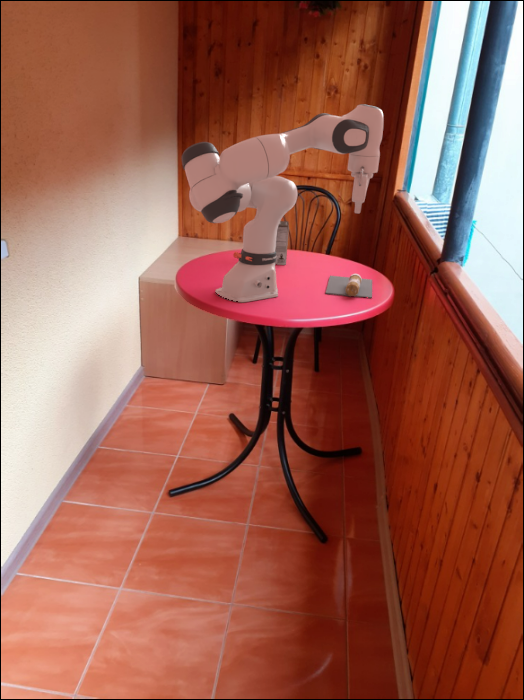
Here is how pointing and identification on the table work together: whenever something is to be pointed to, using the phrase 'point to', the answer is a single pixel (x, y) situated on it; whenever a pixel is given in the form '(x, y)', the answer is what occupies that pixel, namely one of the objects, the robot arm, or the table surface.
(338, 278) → the mat
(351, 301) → the table surface
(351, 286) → the sprinkles bottle
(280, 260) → the coffee box
